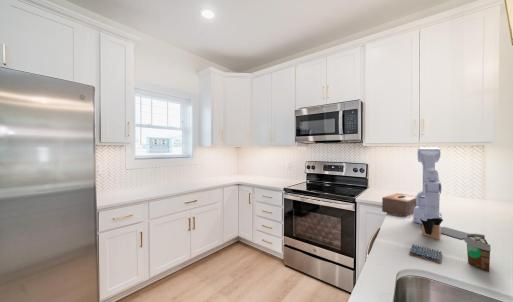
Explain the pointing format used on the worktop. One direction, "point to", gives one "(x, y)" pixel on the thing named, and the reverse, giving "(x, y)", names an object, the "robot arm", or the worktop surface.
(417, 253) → the spiky blue-grey pad
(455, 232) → the mat
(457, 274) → the worktop surface
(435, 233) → the tile
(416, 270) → the worktop surface
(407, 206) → the tissue box cover
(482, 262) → the food container
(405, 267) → the worktop surface
